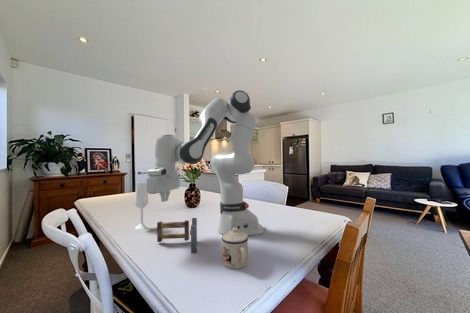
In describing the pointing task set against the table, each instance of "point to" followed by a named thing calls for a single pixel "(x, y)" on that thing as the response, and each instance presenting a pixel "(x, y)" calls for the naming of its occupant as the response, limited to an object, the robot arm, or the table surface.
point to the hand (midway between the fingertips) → (164, 201)
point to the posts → (193, 235)
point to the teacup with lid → (235, 249)
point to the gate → (172, 225)
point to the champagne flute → (141, 201)
